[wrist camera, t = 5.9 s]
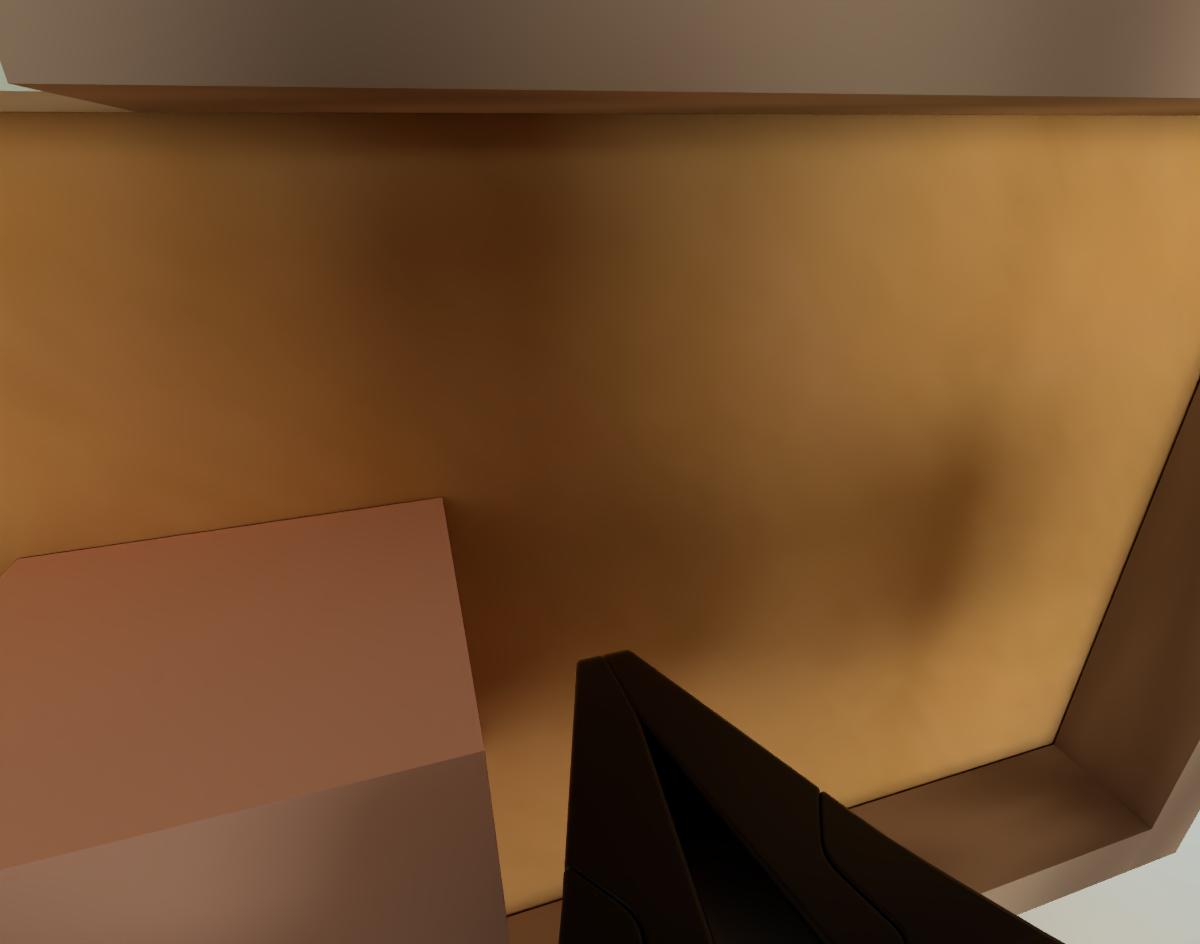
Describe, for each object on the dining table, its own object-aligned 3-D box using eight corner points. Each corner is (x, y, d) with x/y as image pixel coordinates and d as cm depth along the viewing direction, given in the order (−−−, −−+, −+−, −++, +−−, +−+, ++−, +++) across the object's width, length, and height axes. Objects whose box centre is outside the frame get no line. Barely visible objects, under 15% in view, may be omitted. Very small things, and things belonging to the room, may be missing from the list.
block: (150, 833, 10) (-5, 1266, 6) (17, 559, 8) (-362, 958, 4) (477, 752, 11) (525, 1067, 7) (442, 497, 9) (484, 750, 5)
